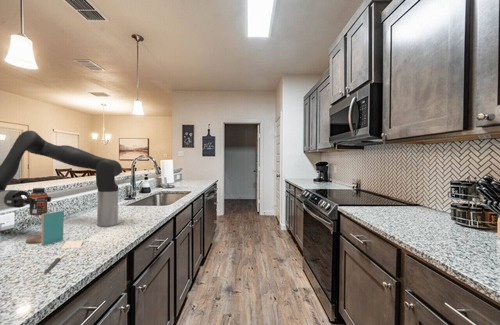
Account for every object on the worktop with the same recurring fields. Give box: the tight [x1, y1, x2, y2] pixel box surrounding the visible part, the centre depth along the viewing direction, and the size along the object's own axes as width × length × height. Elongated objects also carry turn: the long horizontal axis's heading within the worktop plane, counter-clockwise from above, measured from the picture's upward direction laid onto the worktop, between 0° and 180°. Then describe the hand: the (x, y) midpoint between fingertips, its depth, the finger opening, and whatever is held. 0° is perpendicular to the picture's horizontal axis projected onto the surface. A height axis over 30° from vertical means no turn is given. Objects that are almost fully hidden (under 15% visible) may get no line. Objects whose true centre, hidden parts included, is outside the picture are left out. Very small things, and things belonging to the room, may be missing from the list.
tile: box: [40, 210, 65, 247], centre depth 104 cm, size 1×8×12 cm, turn 166°
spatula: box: [43, 240, 85, 275], centre depth 90 cm, size 6×29×2 cm, turn 19°
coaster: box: [25, 235, 41, 245], centre depth 107 cm, size 9×9×1 cm
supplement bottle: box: [29, 187, 48, 217], centre depth 112 cm, size 6×6×11 cm
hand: (42, 200), depth 112 cm, fingers closed on supplement bottle, 6 cm apart
